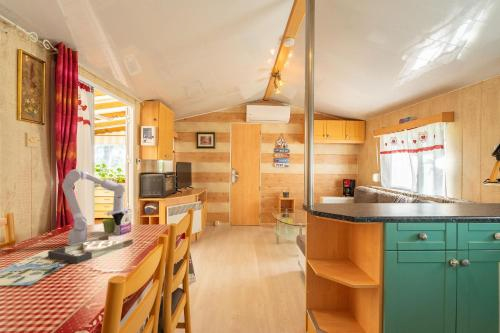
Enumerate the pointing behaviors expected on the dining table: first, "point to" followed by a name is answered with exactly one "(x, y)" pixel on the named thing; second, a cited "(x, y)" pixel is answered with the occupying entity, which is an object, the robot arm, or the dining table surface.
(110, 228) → the plant pot
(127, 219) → the candy bar box
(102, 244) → the white brass knuckles
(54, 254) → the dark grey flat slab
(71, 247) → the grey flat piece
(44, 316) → the dining table surface
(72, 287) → the dining table surface
